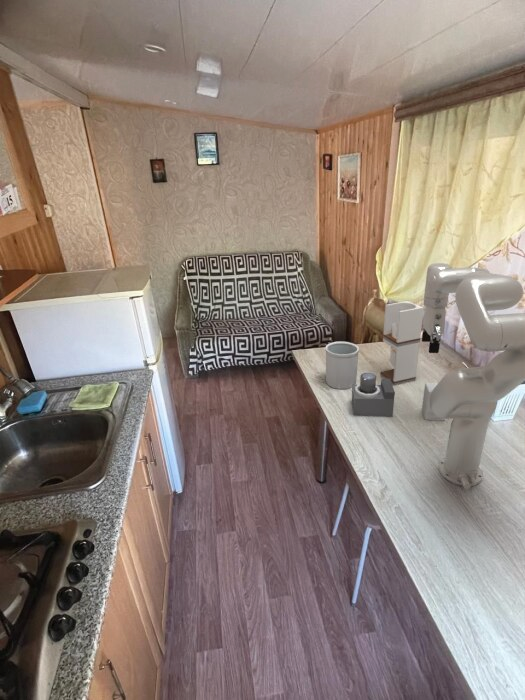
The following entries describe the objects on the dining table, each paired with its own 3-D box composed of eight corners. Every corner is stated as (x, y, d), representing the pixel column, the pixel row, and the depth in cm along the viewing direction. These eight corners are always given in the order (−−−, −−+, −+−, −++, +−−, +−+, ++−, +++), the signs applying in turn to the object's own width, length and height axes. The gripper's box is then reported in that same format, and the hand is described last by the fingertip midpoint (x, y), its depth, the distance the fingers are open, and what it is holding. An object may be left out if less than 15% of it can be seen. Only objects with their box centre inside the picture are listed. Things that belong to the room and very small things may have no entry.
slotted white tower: (401, 370, 186) (407, 300, 172) (415, 380, 177) (423, 307, 162) (380, 375, 183) (385, 304, 169) (393, 385, 174) (400, 311, 160)
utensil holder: (337, 371, 190) (337, 338, 183) (363, 380, 180) (365, 346, 173) (318, 382, 181) (318, 348, 173) (345, 393, 171) (346, 357, 163)
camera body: (392, 416, 153) (394, 392, 148) (353, 415, 155) (354, 391, 150) (388, 401, 163) (390, 378, 158) (351, 400, 165) (352, 378, 160)
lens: (377, 390, 156) (378, 375, 153) (370, 397, 152) (371, 381, 149) (364, 386, 159) (364, 370, 156) (356, 392, 155) (357, 377, 152)
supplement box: (445, 421, 148) (449, 392, 143) (424, 420, 150) (428, 391, 144) (441, 410, 154) (445, 382, 149) (421, 409, 156) (424, 382, 151)
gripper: (455, 308, 123) (448, 357, 130) (440, 293, 139) (434, 337, 146) (430, 309, 124) (424, 357, 131) (418, 293, 140) (413, 337, 147)
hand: (429, 346), depth 138 cm, fingers open, 9 cm apart
